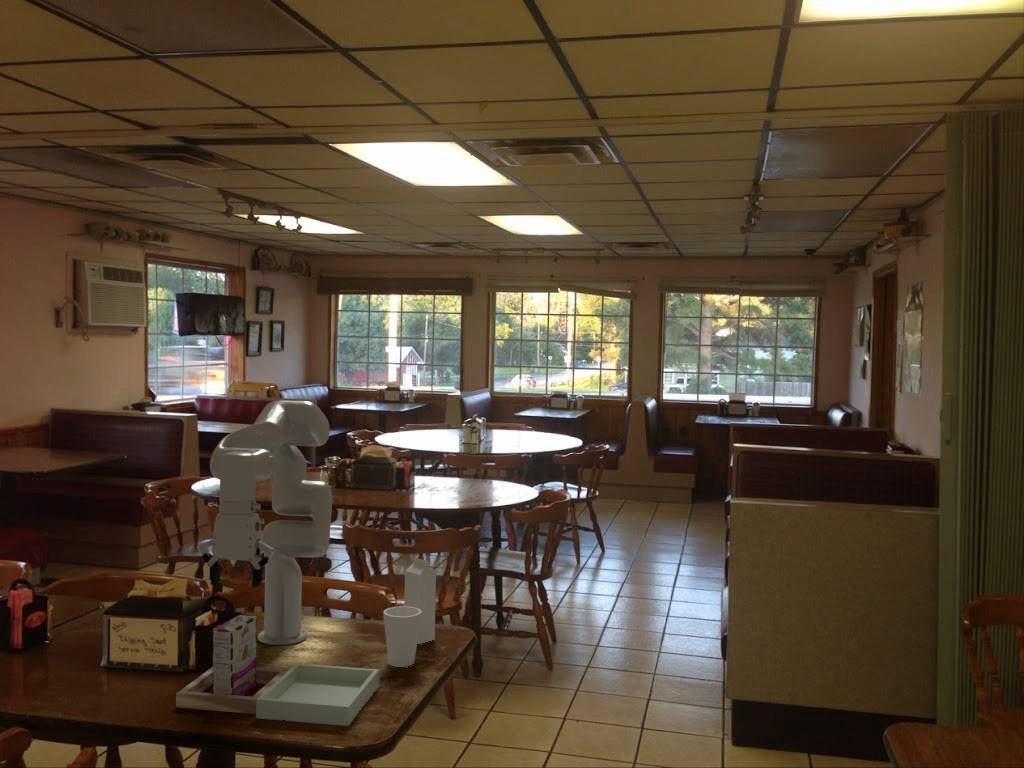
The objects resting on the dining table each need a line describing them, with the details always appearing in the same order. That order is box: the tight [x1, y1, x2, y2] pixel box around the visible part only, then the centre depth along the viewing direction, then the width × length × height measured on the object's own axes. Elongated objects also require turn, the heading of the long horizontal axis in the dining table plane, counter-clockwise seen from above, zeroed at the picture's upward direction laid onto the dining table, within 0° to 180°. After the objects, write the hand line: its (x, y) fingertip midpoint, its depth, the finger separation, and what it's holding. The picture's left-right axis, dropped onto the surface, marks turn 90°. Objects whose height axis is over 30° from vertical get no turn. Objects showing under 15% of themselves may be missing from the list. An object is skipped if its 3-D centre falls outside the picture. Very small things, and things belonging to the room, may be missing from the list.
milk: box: [403, 557, 437, 645], centre depth 237 cm, size 6×6×22 cm
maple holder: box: [175, 666, 290, 715], centre depth 197 cm, size 18×18×3 cm
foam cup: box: [382, 605, 421, 668], centre depth 219 cm, size 10×9×13 cm
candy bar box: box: [212, 614, 257, 696], centre depth 197 cm, size 11×5×16 cm, turn 168°
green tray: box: [255, 663, 380, 727], centre depth 194 cm, size 22×20×4 cm
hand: (235, 584), depth 196 cm, fingers open, 9 cm apart
